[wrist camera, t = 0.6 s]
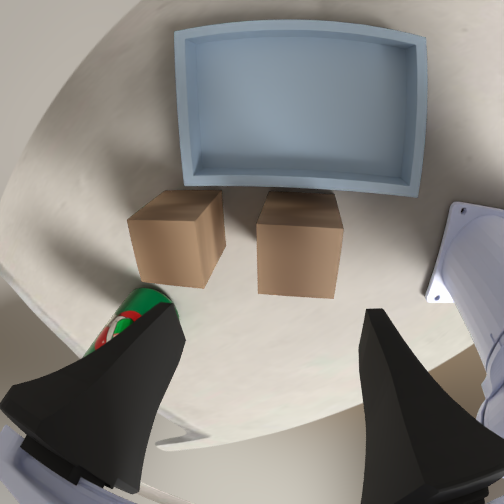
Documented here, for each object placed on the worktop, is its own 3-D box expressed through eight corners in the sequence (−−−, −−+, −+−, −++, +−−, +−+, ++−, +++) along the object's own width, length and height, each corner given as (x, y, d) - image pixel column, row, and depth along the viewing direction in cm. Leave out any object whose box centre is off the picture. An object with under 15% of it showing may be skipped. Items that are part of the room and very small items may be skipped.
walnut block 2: (334, 194, 17) (343, 228, 13) (329, 251, 19) (333, 298, 15) (269, 191, 18) (256, 224, 13) (269, 248, 20) (257, 293, 15)
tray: (411, 43, 11) (425, 37, 9) (405, 185, 16) (417, 197, 14) (189, 38, 13) (173, 31, 11) (197, 175, 18) (184, 186, 16)
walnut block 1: (221, 189, 18) (195, 221, 14) (226, 245, 20) (203, 288, 16) (165, 190, 19) (126, 219, 14) (173, 242, 21) (141, 281, 16)
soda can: (162, 335, 26) (107, 439, 16) (122, 300, 25) (52, 399, 15) (192, 313, 24) (134, 437, 14) (147, 273, 23) (65, 388, 12)
